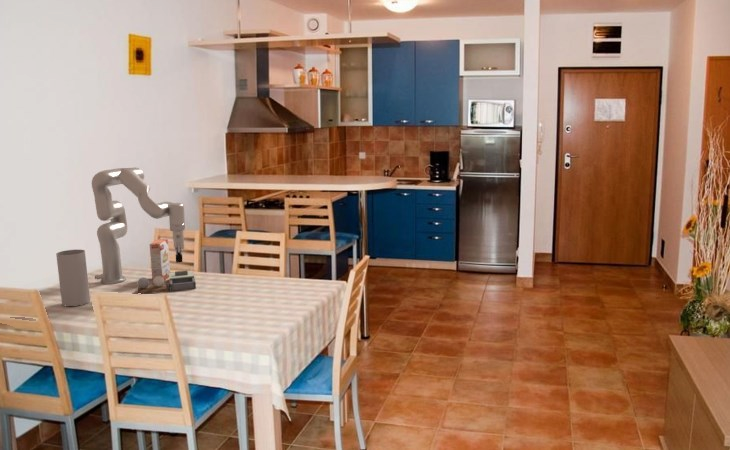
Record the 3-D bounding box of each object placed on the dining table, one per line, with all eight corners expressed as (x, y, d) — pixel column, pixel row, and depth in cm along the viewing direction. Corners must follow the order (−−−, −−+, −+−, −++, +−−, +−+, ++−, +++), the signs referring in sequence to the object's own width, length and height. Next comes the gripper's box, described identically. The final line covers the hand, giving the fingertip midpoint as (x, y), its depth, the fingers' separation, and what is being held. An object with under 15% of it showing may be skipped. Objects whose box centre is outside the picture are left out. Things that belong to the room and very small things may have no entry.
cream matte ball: (153, 288, 344) (152, 278, 343) (153, 286, 349) (152, 275, 348) (165, 287, 346) (164, 276, 345) (164, 284, 351) (164, 274, 350)
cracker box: (163, 282, 362) (160, 243, 358) (152, 282, 362) (148, 244, 358) (171, 275, 376) (168, 238, 372) (160, 276, 376) (157, 238, 372)
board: (137, 294, 340) (137, 291, 340) (138, 289, 350) (137, 286, 350) (166, 291, 344) (166, 288, 344) (166, 286, 354) (166, 283, 354)
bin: (170, 291, 344) (170, 284, 343) (169, 279, 367) (168, 273, 367) (195, 288, 348) (195, 281, 347) (193, 277, 371) (192, 271, 370)
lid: (169, 279, 353) (169, 274, 352) (168, 273, 365) (168, 269, 364) (194, 276, 356) (193, 272, 356) (192, 271, 368) (192, 266, 368)
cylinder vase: (63, 308, 320) (57, 256, 316) (61, 302, 331) (55, 251, 327) (91, 304, 326) (86, 253, 321) (88, 298, 337) (83, 248, 332)
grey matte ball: (137, 290, 342) (136, 279, 341) (138, 287, 347) (137, 276, 346) (149, 289, 344) (148, 278, 343) (149, 286, 349) (148, 275, 348)
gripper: (185, 229, 345) (187, 264, 349) (184, 224, 359) (185, 258, 363) (170, 230, 343) (172, 265, 346) (169, 225, 357) (171, 259, 361)
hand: (179, 261), depth 355 cm, fingers closed
